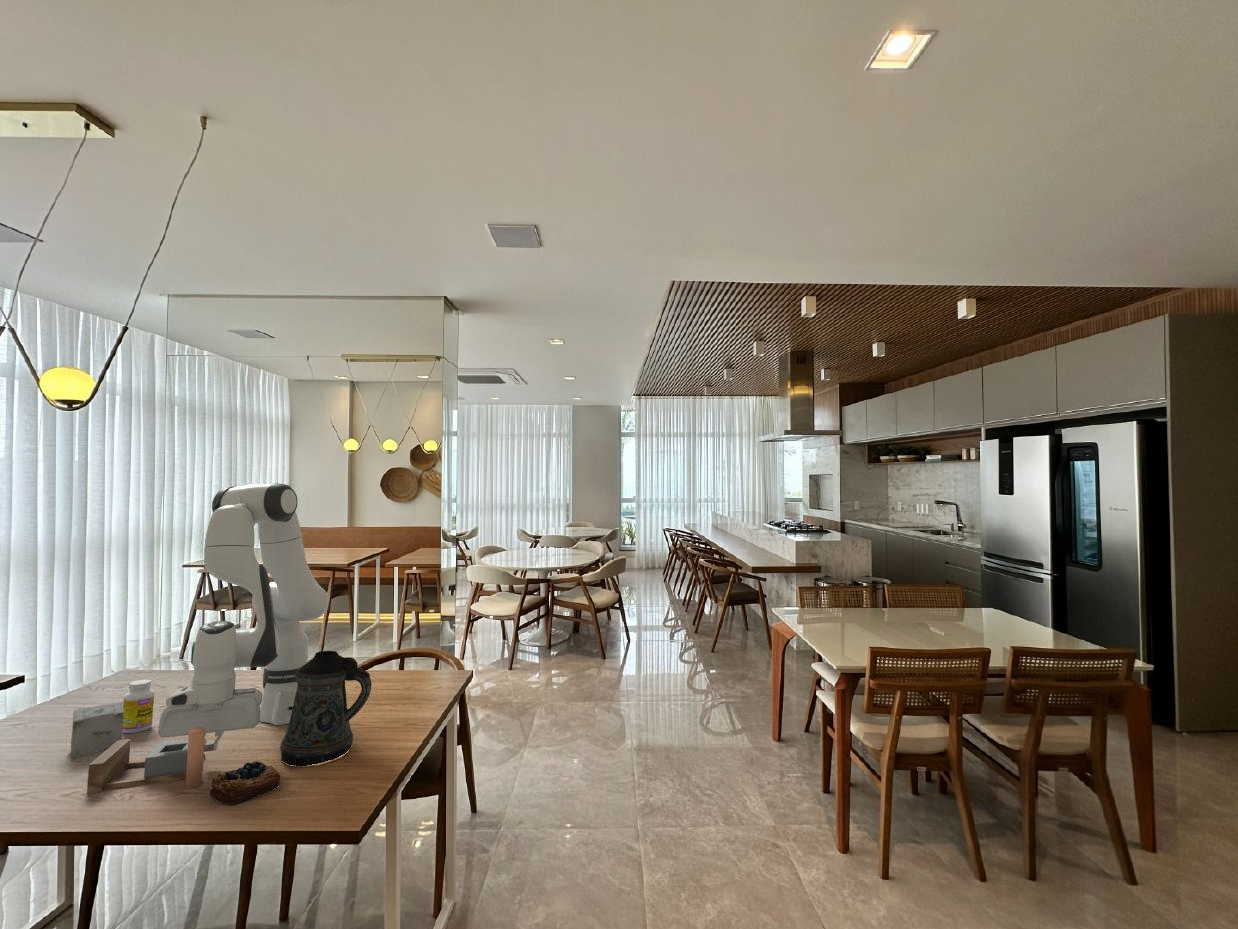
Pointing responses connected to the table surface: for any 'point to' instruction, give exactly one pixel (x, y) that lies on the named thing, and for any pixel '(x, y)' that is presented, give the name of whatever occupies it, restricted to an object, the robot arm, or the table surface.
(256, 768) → the pastry
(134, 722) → the supplement bottle
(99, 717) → the incense holder
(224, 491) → the robot arm
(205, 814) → the table surface
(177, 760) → the block
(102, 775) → the rail frame
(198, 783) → the dowel
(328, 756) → the beer stein
